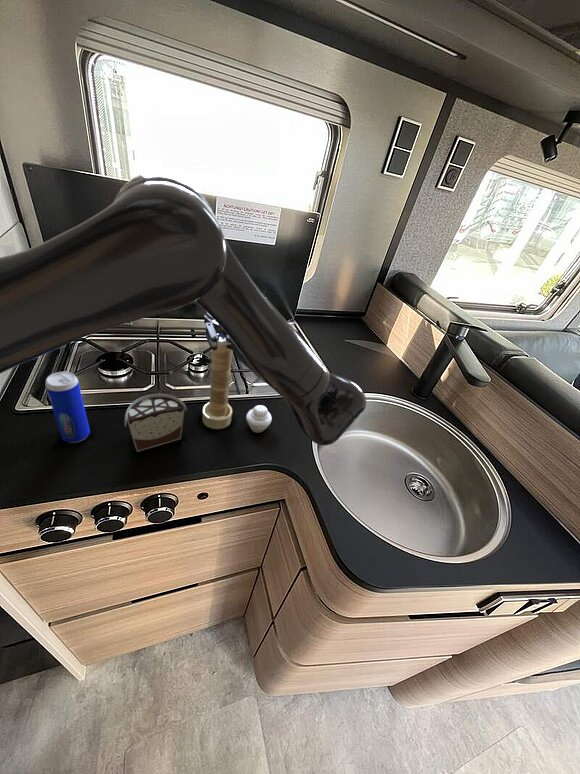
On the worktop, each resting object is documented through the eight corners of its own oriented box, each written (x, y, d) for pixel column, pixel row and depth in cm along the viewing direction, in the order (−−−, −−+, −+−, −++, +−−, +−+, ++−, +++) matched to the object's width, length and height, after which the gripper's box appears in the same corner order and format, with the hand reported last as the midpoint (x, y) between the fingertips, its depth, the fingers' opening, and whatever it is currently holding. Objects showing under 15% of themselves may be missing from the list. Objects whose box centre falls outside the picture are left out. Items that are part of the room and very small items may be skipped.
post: (214, 419, 78) (221, 318, 63) (206, 408, 80) (210, 308, 65) (230, 413, 81) (239, 314, 66) (221, 403, 83) (228, 306, 68)
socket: (211, 433, 78) (211, 423, 77) (197, 415, 82) (197, 406, 80) (236, 423, 82) (237, 414, 81) (221, 406, 86) (222, 397, 85)
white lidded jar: (274, 432, 82) (279, 411, 78) (253, 440, 79) (256, 418, 75) (261, 416, 86) (264, 396, 82) (240, 423, 82) (243, 402, 78)
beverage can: (55, 438, 69) (36, 380, 60) (77, 423, 73) (62, 367, 64) (75, 448, 68) (58, 390, 59) (96, 432, 72) (83, 376, 63)
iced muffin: (178, 420, 80) (177, 387, 74) (187, 437, 76) (187, 403, 70) (122, 434, 73) (116, 399, 67) (129, 454, 69) (123, 419, 63)
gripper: (300, 330, 61) (247, 294, 70) (233, 345, 52) (184, 301, 62) (292, 364, 65) (244, 326, 75) (230, 383, 57) (184, 337, 66)
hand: (217, 315), depth 68 cm, fingers closed on post, 4 cm apart
